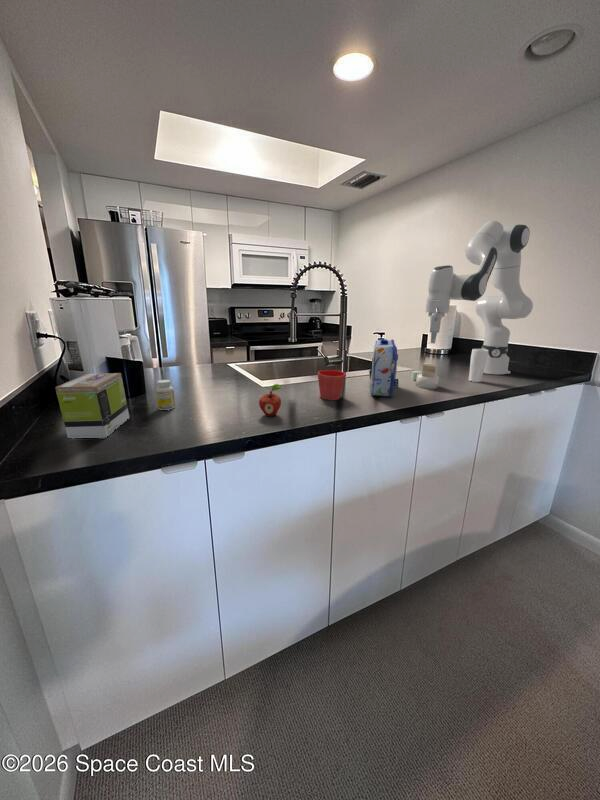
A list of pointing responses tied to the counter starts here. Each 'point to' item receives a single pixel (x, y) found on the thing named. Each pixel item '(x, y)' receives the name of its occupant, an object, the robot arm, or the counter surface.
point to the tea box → (93, 405)
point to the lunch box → (384, 368)
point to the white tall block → (477, 364)
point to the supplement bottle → (165, 395)
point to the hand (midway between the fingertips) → (432, 341)
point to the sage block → (415, 374)
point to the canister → (427, 381)
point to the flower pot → (331, 384)
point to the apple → (270, 402)
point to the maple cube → (428, 370)
